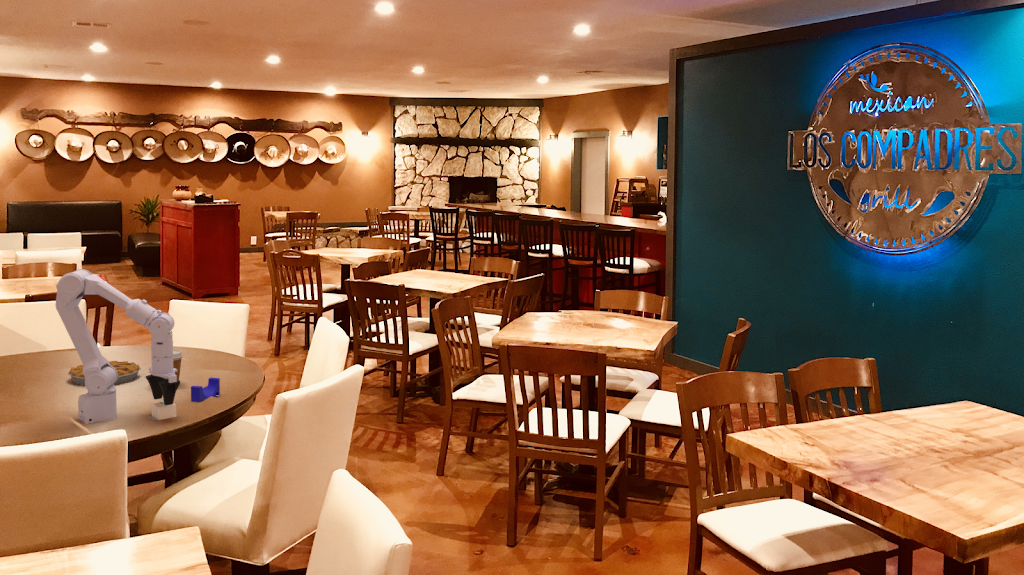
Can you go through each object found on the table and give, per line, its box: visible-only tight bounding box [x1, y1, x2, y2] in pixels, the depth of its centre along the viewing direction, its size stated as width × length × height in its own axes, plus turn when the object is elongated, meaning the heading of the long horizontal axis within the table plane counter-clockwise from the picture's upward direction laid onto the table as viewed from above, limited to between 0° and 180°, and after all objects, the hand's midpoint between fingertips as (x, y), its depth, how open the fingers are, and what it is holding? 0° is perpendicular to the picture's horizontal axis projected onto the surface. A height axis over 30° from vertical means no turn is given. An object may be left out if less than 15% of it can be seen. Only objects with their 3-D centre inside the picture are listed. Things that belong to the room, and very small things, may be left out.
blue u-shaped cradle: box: [190, 377, 221, 403], centre depth 255 cm, size 12×4×6 cm, turn 171°
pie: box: [67, 360, 142, 386], centre depth 276 cm, size 22×22×5 cm
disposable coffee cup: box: [173, 349, 184, 381], centre depth 268 cm, size 10×10×12 cm
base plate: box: [148, 413, 179, 422], centre depth 234 cm, size 7×5×1 cm
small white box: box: [151, 401, 177, 421], centre depth 234 cm, size 5×5×4 cm
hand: (163, 401), depth 233 cm, fingers open, 7 cm apart
